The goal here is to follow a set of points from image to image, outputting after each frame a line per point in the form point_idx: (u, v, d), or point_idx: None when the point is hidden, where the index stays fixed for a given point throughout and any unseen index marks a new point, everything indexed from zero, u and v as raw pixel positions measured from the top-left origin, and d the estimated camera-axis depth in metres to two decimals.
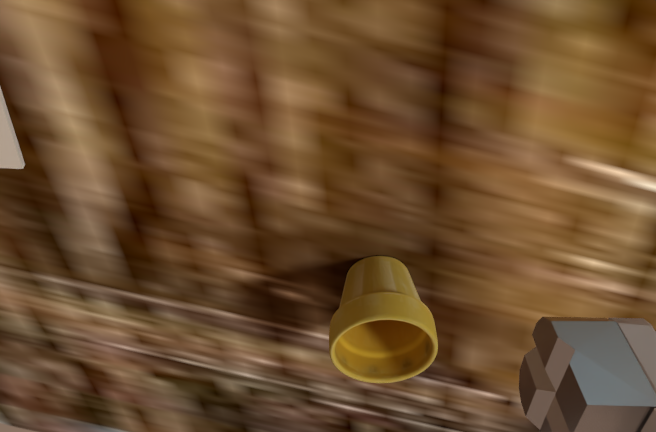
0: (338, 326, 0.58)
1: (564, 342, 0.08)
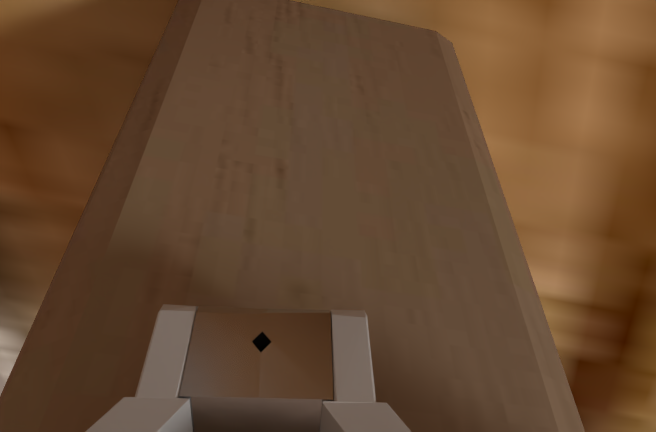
0: None
1: (267, 334, 0.08)
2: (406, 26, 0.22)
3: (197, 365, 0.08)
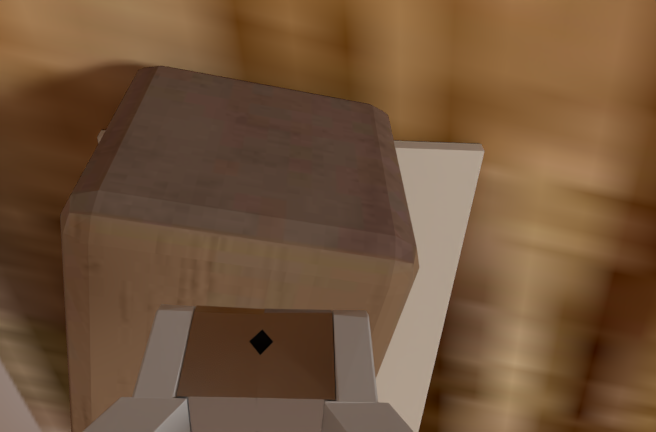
0: None
1: (268, 334, 0.08)
2: (350, 284, 0.17)
3: (194, 365, 0.08)
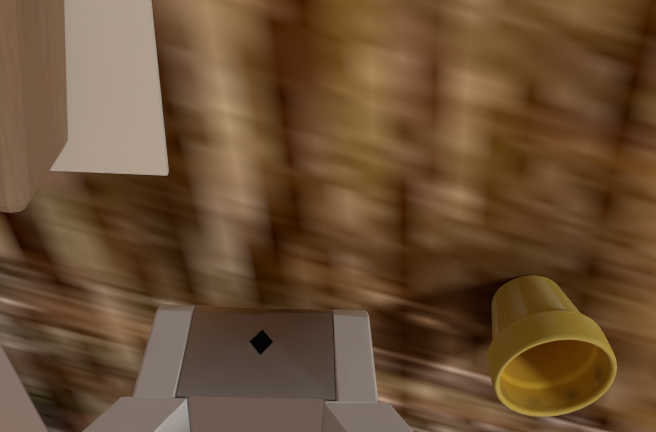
0: (507, 349, 0.52)
1: (268, 334, 0.08)
2: None
3: (194, 365, 0.08)
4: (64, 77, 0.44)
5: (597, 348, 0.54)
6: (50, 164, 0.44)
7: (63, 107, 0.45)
